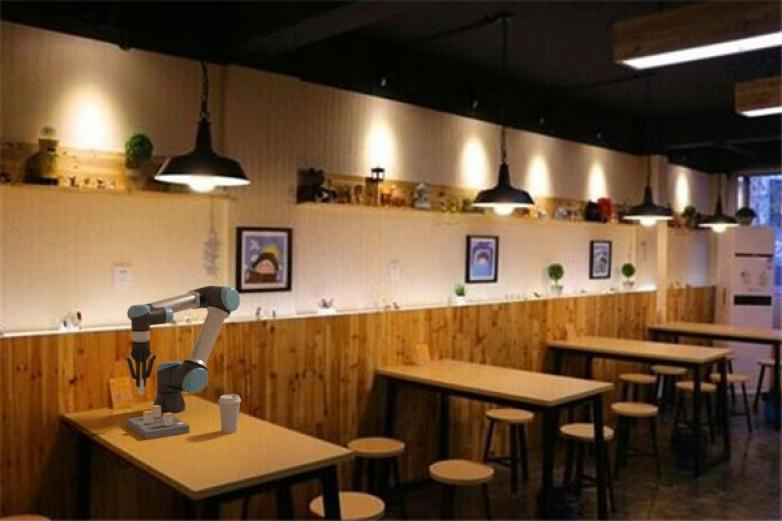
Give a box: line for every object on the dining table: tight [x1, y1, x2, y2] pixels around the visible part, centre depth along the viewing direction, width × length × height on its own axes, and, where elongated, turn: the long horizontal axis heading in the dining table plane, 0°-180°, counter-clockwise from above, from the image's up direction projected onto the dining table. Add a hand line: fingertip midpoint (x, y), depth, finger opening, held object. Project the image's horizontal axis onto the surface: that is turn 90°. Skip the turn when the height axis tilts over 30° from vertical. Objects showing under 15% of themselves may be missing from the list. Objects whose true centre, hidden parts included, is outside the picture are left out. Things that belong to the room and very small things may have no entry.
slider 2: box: [162, 413, 174, 426], centre depth 292 cm, size 3×4×5 cm
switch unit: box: [126, 413, 190, 440], centre depth 297 cm, size 18×26×3 cm
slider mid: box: [142, 409, 154, 424], centre depth 294 cm, size 3×4×5 cm
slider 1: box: [150, 405, 162, 418], centre depth 304 cm, size 3×4×5 cm
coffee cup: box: [217, 393, 242, 434], centre depth 296 cm, size 10×10×15 cm
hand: (140, 394), depth 300 cm, fingers closed
